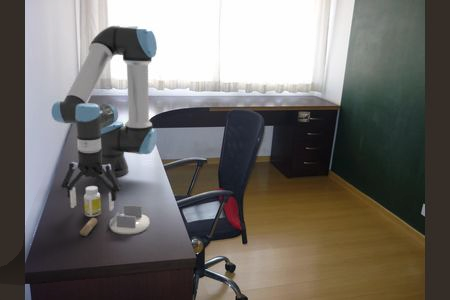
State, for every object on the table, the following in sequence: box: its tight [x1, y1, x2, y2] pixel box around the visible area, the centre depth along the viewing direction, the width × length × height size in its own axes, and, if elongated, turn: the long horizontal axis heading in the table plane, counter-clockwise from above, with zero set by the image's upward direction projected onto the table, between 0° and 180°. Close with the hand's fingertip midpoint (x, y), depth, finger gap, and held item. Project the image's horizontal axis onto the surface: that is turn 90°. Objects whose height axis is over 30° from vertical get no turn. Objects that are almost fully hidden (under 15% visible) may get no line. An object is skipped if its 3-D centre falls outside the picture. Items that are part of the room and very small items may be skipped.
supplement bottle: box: [83, 185, 102, 218], centre depth 130 cm, size 5×5×10 cm
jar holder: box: [108, 204, 150, 235], centre depth 124 cm, size 13×13×5 cm
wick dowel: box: [79, 217, 98, 237], centre depth 120 cm, size 8×2×2 cm
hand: (92, 207), depth 130 cm, fingers open, 13 cm apart
